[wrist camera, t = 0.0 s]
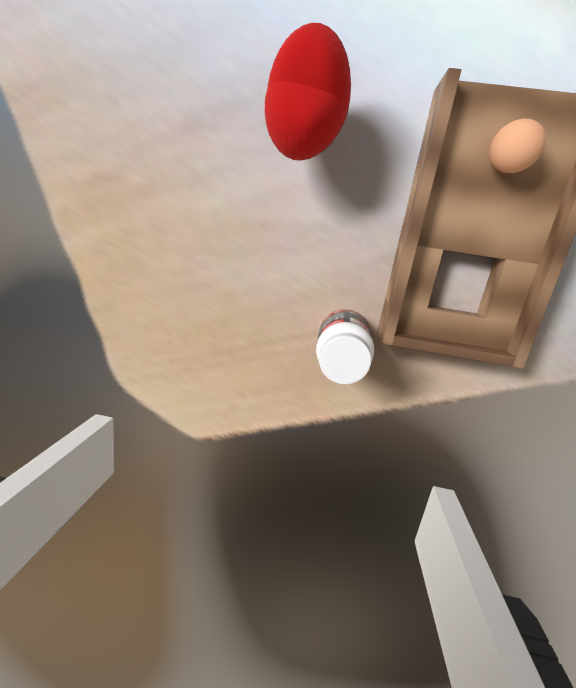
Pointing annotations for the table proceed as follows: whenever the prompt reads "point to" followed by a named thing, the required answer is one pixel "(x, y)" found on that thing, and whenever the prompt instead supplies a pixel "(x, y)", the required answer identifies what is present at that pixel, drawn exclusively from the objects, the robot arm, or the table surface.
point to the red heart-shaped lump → (308, 92)
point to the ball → (517, 145)
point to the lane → (484, 222)
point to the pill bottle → (344, 347)
